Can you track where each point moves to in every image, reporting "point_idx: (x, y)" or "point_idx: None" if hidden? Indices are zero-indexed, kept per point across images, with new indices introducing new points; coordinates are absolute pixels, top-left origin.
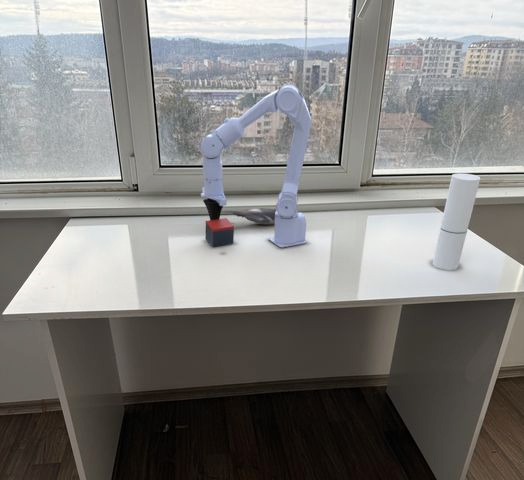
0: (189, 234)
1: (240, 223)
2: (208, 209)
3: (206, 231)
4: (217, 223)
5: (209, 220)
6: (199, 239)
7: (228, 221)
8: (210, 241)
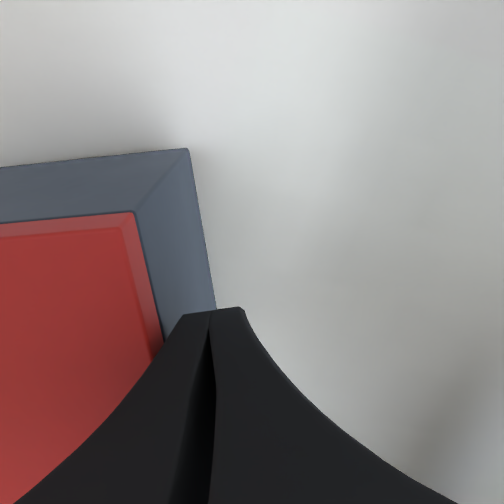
0: (459, 16)
1: (490, 501)
2: (215, 434)
3: (129, 178)
4: (12, 376)
5: (134, 297)
6: (260, 89)
7: None
8: (34, 171)
